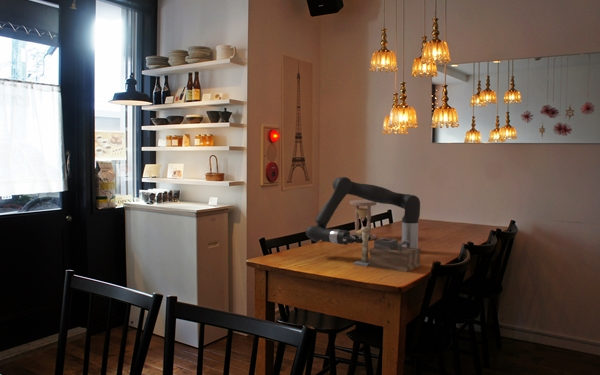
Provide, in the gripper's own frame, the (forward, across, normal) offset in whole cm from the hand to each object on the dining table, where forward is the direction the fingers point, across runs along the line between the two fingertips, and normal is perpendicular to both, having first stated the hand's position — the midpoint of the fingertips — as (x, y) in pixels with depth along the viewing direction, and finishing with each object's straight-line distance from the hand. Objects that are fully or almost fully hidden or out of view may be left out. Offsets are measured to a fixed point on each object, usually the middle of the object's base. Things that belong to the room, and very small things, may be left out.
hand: (366, 240), depth 267 cm
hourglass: (-41, +69, +13) cm, 81 cm away
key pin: (-1, 0, +12) cm, 12 cm away
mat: (-1, 0, +13) cm, 13 cm away
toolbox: (+14, +4, +12) cm, 19 cm away
